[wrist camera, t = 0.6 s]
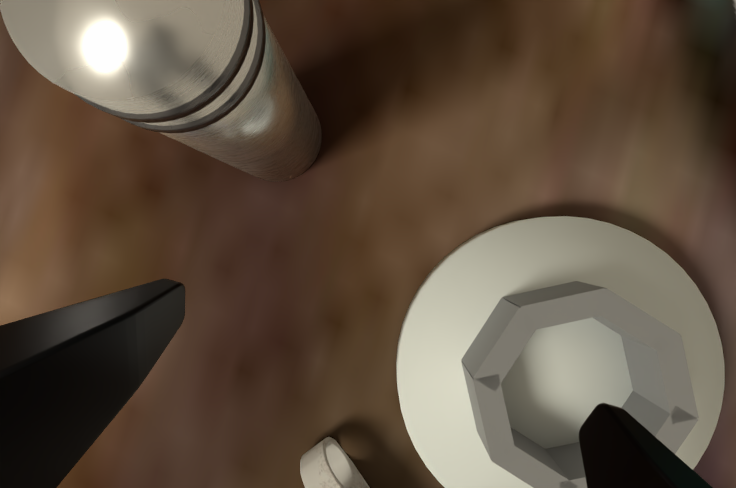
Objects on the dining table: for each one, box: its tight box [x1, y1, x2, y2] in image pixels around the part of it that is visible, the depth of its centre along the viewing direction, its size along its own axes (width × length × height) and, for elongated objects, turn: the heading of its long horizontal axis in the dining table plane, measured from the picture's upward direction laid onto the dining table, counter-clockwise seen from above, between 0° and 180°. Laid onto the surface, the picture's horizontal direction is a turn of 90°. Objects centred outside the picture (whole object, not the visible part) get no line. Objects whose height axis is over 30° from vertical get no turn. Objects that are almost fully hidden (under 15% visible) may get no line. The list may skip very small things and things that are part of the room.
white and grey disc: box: [396, 216, 725, 488], centre depth 19 cm, size 17×17×4 cm
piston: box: [0, 0, 322, 182], centre depth 15 cm, size 5×5×13 cm
